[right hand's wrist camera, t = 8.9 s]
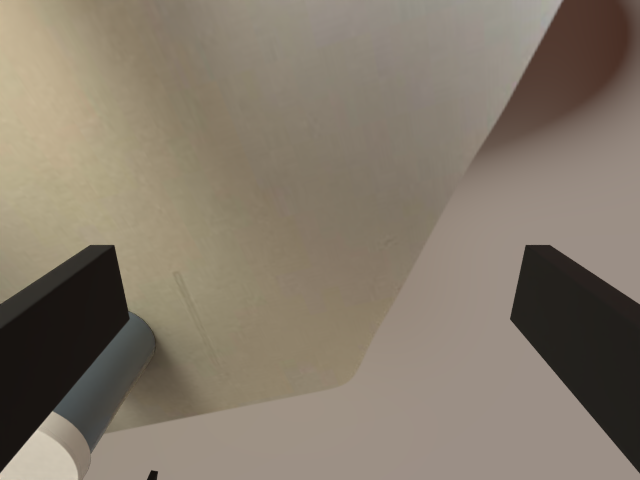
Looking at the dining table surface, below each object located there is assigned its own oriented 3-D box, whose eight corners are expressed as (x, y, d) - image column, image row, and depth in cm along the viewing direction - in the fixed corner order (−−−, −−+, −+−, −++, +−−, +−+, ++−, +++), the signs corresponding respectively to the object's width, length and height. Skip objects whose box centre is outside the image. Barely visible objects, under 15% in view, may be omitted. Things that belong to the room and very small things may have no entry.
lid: (-58, 410, 28) (-81, 429, 26) (61, 393, 27) (45, 411, 26) (1, 495, 31) (-16, 517, 30) (108, 482, 31) (97, 503, 29)
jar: (67, 313, 41) (-64, 428, 27) (141, 302, 40) (46, 413, 26) (96, 374, 44) (-8, 506, 30) (165, 364, 43) (92, 494, 29)
